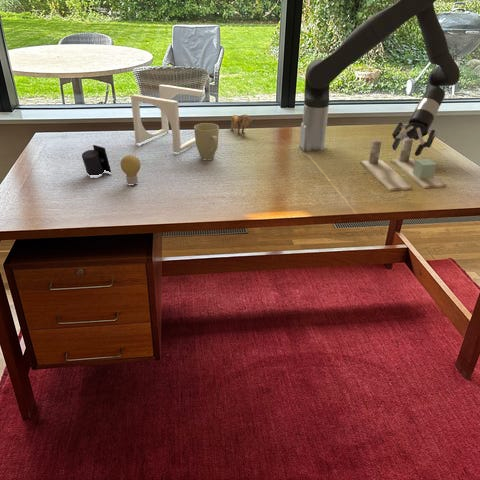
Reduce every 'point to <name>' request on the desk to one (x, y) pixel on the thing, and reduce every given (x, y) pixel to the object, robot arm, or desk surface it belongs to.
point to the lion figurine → (240, 122)
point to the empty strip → (384, 170)
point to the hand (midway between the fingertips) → (404, 152)
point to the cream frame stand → (163, 114)
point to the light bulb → (131, 168)
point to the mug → (206, 139)
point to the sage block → (424, 168)
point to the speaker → (96, 160)
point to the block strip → (408, 166)
